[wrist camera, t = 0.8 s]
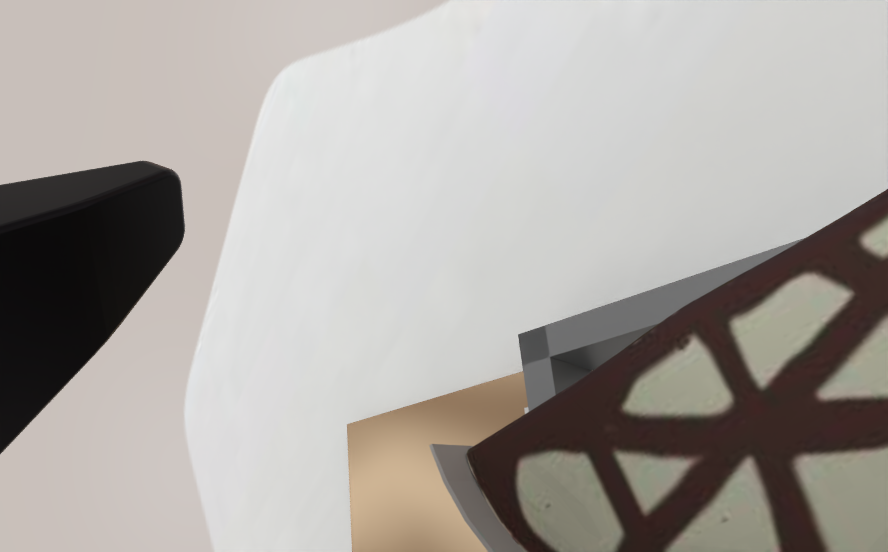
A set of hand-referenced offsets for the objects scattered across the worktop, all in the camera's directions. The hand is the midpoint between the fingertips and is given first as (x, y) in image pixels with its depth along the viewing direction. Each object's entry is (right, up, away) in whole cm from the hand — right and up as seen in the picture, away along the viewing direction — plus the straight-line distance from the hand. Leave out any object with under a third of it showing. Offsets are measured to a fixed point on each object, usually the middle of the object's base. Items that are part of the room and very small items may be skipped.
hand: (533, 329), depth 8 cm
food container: (+10, -5, +10) cm, 15 cm away
